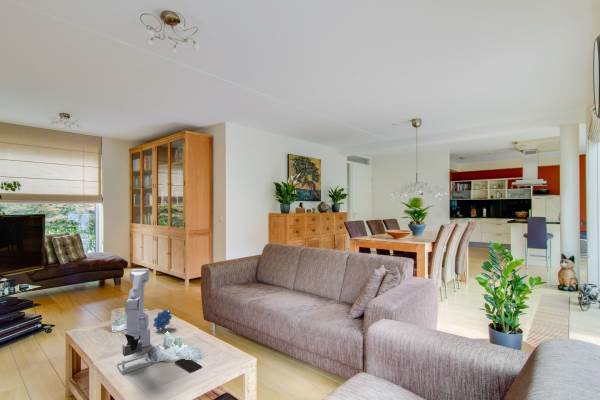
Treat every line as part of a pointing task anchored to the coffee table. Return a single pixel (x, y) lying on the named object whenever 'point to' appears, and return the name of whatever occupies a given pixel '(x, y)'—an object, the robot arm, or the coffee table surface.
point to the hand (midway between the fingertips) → (132, 348)
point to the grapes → (162, 319)
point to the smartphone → (188, 365)
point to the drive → (127, 348)
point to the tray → (134, 364)
